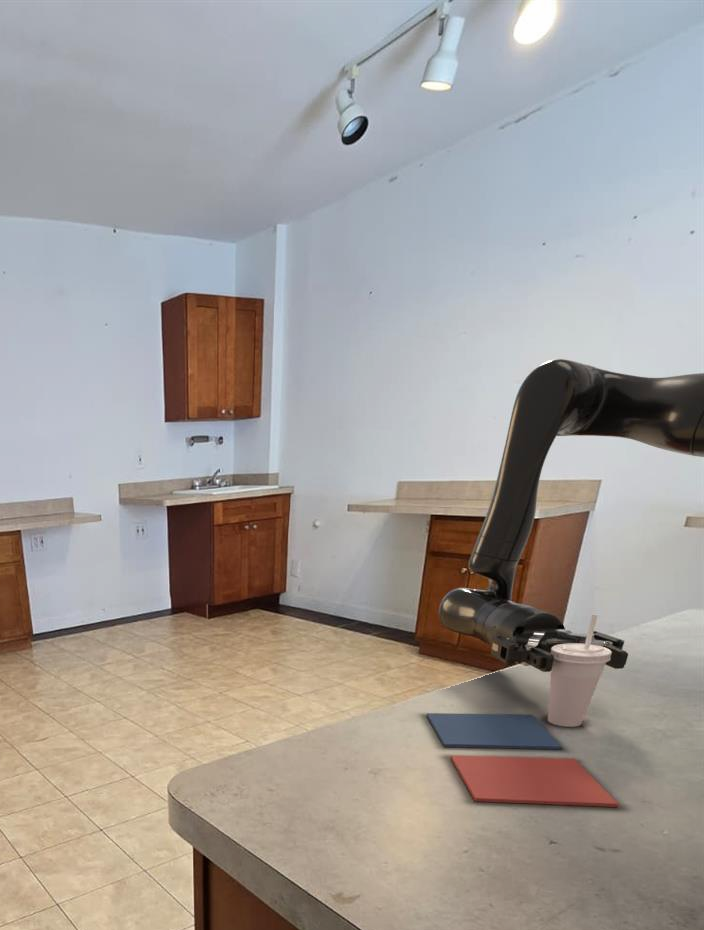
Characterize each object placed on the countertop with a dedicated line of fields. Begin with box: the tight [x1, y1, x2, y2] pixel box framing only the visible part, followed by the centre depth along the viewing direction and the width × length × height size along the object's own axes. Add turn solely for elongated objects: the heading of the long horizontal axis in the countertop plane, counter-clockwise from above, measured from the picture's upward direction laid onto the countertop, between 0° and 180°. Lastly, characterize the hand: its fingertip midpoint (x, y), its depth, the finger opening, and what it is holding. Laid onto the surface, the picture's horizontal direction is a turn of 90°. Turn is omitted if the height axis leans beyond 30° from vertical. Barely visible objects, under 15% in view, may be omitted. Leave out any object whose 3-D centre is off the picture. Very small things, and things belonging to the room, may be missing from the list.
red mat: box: [450, 754, 619, 808], centre depth 69 cm, size 13×11×1 cm
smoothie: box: [547, 613, 612, 728], centre depth 81 cm, size 6×6×14 cm
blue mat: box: [426, 712, 563, 750], centre depth 82 cm, size 13×11×1 cm
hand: (586, 662), depth 79 cm, fingers open, 8 cm apart
